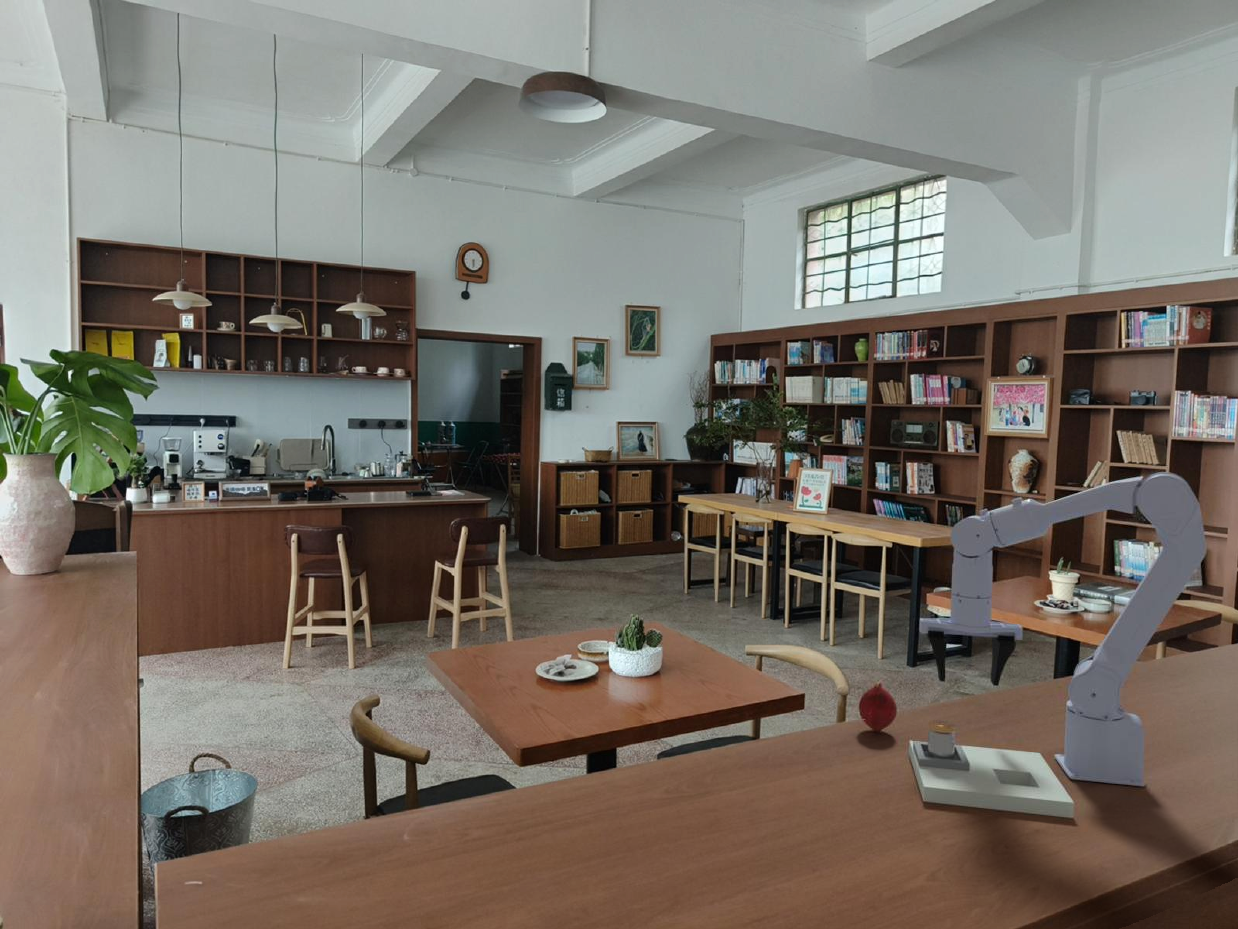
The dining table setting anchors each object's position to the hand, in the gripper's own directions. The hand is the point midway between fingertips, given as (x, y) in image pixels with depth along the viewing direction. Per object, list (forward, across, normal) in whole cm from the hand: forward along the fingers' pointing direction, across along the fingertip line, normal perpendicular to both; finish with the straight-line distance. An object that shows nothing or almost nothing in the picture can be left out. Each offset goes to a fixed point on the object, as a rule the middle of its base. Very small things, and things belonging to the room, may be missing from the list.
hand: (967, 681), depth 128 cm
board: (+10, 0, +14) cm, 17 cm away
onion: (+10, +13, -2) cm, 17 cm away
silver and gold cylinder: (+10, +6, +12) cm, 17 cm away
